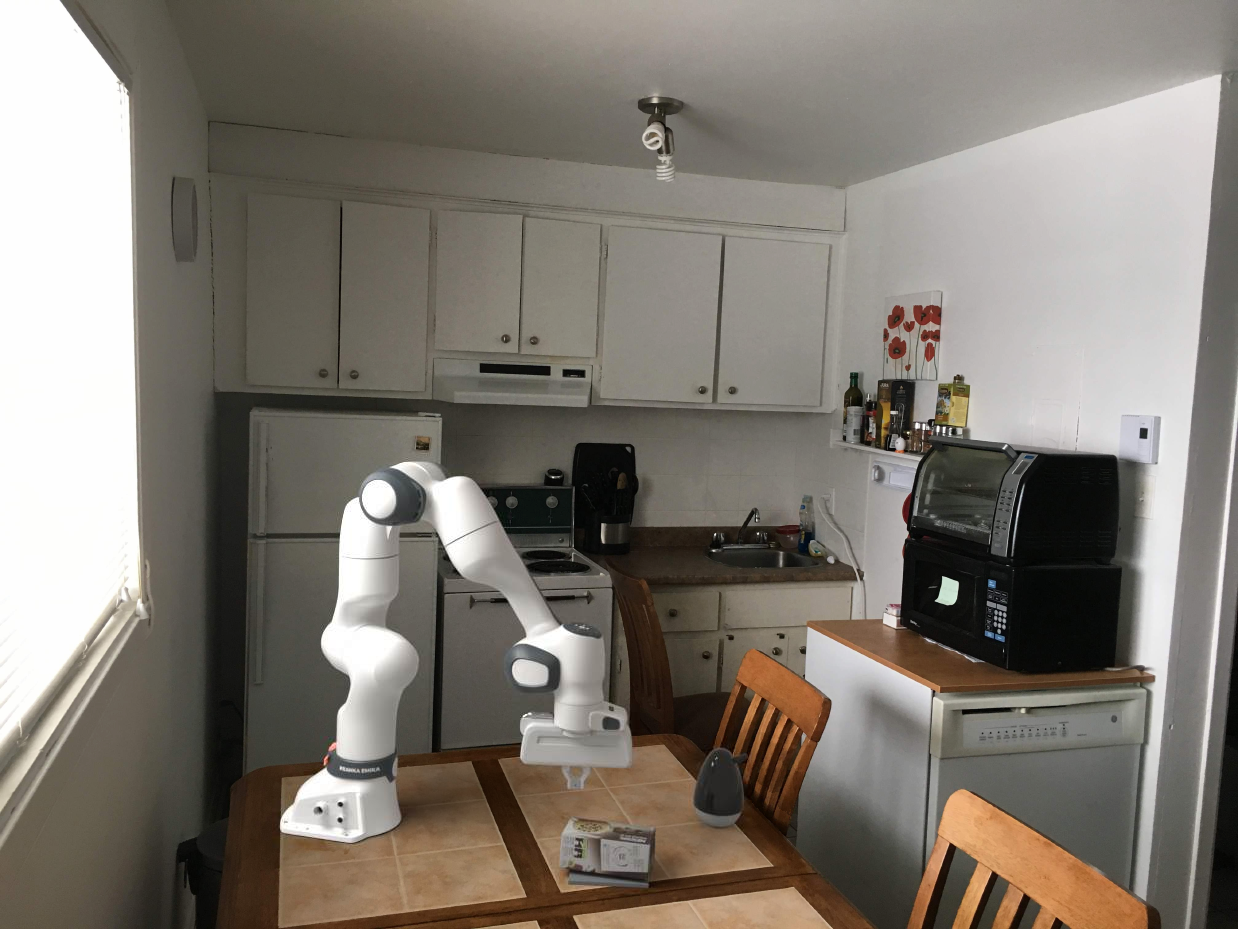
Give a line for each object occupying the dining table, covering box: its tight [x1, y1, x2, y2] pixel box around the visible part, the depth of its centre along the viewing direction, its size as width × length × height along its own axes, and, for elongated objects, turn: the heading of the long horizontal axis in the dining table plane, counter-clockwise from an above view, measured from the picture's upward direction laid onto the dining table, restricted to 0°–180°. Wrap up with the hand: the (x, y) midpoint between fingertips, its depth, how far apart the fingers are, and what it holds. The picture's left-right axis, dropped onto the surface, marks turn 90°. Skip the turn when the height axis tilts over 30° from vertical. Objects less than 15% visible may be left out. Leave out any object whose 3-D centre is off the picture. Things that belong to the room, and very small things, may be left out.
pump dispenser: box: [692, 747, 749, 828], centre depth 193 cm, size 10×10×15 cm
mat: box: [567, 869, 650, 889], centre depth 174 cm, size 14×14×1 cm
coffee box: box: [558, 817, 657, 881], centre depth 172 cm, size 9×6×16 cm
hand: (575, 788), depth 173 cm, fingers closed
